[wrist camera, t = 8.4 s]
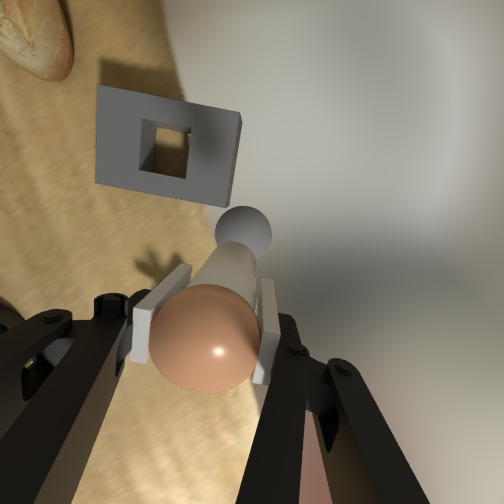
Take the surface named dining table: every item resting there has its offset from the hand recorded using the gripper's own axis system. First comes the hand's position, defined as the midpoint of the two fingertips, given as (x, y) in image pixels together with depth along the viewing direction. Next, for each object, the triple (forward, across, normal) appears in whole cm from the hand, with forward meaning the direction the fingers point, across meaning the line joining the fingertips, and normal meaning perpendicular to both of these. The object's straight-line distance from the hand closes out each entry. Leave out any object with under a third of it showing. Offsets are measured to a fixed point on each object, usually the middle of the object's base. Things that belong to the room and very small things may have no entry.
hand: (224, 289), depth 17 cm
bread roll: (+22, -31, +23) cm, 45 cm away
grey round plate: (+22, 0, 0) cm, 22 cm away
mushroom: (+6, 0, 0) cm, 6 cm away
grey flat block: (+22, -12, +10) cm, 27 cm away
